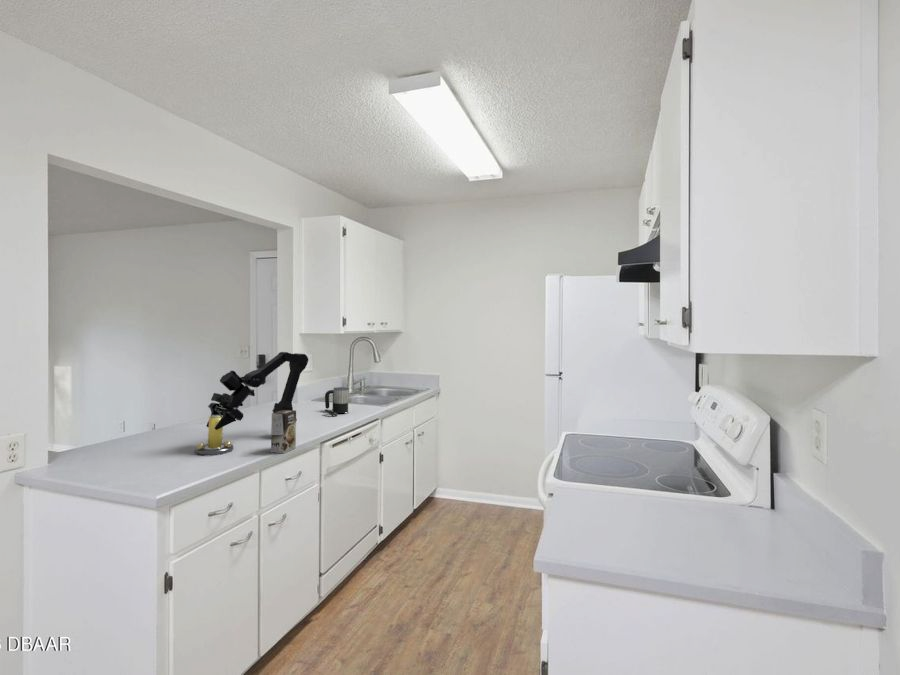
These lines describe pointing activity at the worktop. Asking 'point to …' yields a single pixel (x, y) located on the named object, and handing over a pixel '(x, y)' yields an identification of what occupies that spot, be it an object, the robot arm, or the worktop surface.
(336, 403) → the milk frother
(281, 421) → the coffee box
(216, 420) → the yellow cylinder
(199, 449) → the base plate
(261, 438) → the worktop surface
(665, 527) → the worktop surface
